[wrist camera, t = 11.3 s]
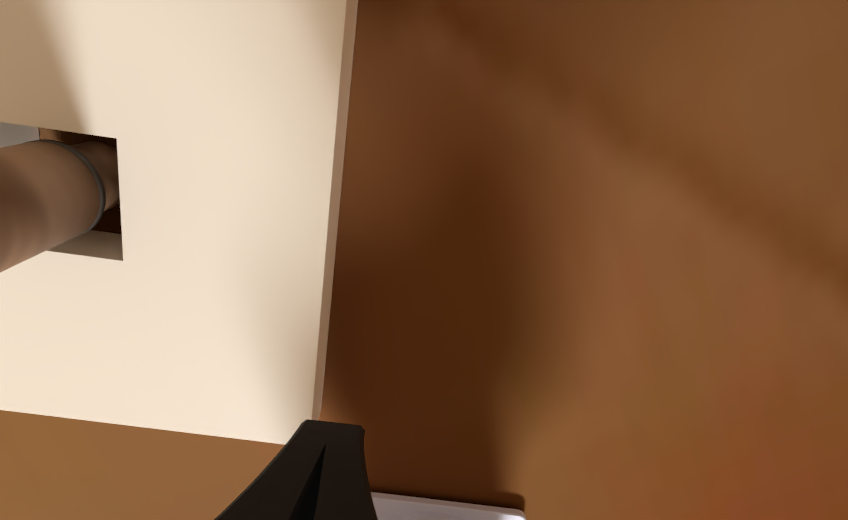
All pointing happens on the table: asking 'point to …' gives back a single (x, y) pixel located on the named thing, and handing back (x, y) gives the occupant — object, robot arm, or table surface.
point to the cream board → (182, 211)
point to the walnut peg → (52, 194)
